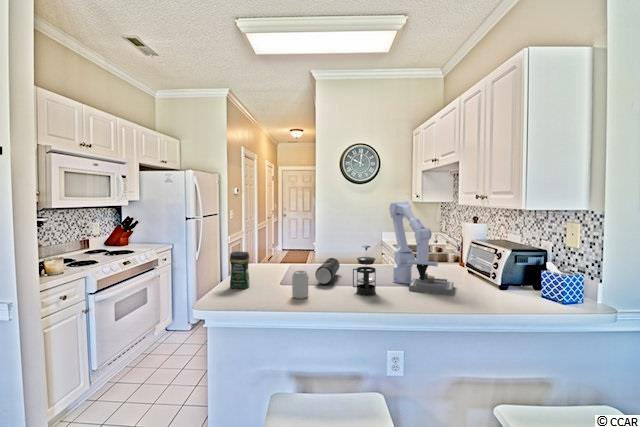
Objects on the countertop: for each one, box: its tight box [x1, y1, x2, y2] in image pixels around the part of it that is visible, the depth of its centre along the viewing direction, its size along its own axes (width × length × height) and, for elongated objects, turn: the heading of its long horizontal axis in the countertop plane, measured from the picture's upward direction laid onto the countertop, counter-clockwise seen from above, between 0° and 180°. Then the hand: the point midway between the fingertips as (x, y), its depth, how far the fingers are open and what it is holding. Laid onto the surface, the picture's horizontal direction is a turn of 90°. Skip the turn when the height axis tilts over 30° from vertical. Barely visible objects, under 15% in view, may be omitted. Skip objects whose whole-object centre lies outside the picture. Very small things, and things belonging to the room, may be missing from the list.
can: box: [291, 270, 309, 300], centre depth 164 cm, size 8×8×12 cm
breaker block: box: [408, 271, 455, 296], centre depth 178 cm, size 20×16×7 cm
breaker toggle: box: [428, 275, 436, 284], centre depth 175 cm, size 3×3×4 cm
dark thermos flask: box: [315, 257, 341, 285], centre depth 196 cm, size 10×28×10 cm, turn 169°
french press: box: [352, 245, 377, 297], centre depth 170 cm, size 12×9×23 cm
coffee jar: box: [229, 251, 251, 290], centre depth 181 cm, size 10×8×19 cm
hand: (422, 279), depth 176 cm, fingers closed
